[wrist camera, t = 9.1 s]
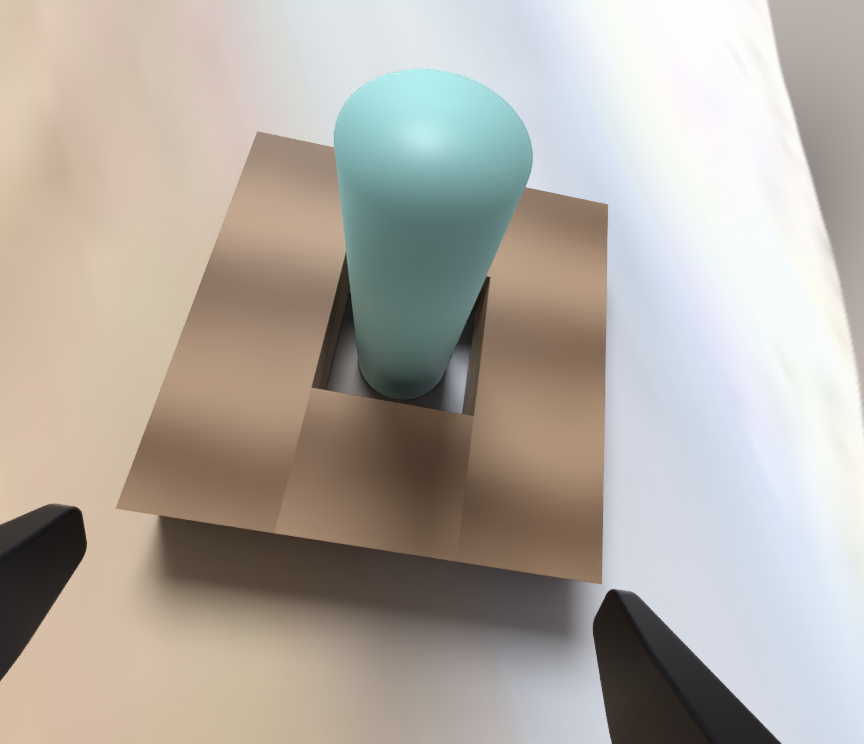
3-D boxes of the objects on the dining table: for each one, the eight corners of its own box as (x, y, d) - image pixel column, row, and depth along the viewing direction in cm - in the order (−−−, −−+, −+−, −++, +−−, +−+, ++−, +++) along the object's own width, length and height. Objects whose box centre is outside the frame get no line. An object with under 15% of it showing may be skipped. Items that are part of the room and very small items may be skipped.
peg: (447, 401, 20) (539, 234, 9) (355, 397, 19) (325, 217, 8) (446, 318, 21) (526, 80, 10) (360, 313, 21) (341, 59, 9)
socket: (566, 575, 18) (601, 584, 15) (158, 512, 17) (115, 508, 14) (580, 243, 24) (608, 204, 21) (272, 181, 23) (257, 131, 20)
